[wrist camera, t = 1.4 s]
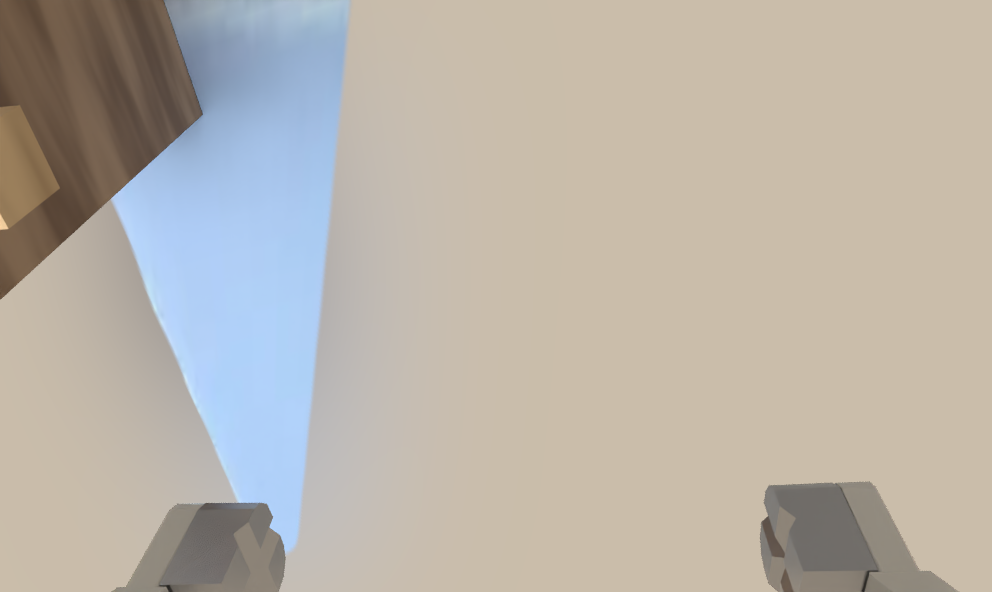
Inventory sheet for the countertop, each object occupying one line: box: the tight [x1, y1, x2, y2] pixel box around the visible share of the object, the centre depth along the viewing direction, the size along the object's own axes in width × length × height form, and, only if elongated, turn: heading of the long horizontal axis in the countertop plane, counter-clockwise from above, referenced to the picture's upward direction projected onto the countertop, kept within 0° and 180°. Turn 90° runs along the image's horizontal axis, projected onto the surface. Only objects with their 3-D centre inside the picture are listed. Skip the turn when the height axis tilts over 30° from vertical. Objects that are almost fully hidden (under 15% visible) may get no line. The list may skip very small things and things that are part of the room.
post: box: [0, 0, 203, 299], centre depth 38 cm, size 4×16×26 cm, turn 6°
